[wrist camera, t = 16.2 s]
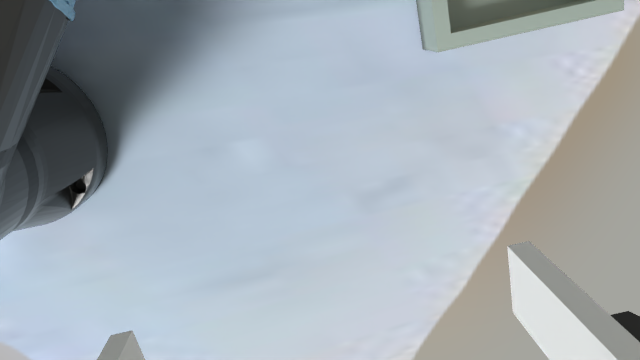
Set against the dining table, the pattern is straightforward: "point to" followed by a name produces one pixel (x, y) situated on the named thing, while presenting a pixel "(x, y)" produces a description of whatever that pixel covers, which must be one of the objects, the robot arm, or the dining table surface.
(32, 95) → the robot arm
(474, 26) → the walled box
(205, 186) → the dining table surface
